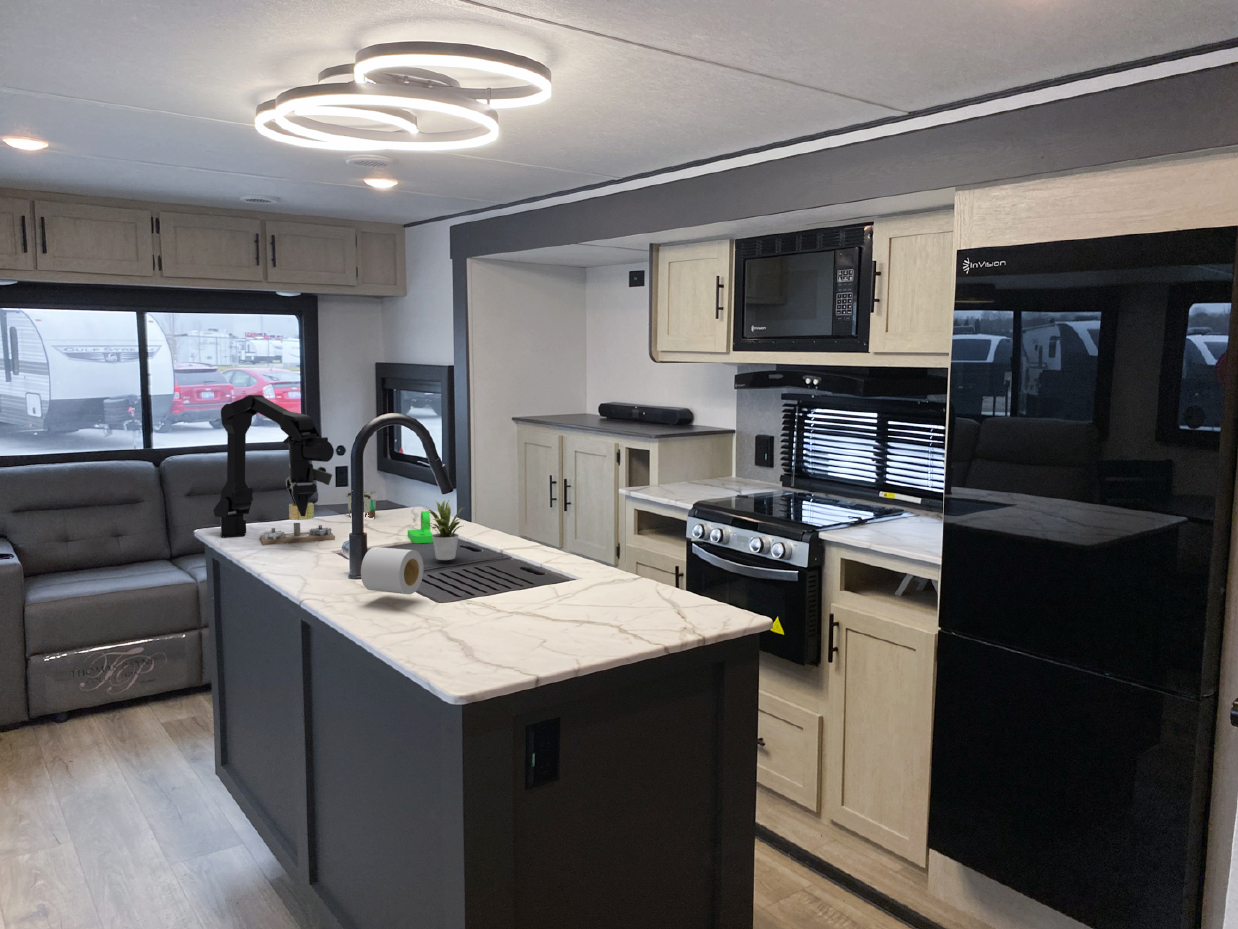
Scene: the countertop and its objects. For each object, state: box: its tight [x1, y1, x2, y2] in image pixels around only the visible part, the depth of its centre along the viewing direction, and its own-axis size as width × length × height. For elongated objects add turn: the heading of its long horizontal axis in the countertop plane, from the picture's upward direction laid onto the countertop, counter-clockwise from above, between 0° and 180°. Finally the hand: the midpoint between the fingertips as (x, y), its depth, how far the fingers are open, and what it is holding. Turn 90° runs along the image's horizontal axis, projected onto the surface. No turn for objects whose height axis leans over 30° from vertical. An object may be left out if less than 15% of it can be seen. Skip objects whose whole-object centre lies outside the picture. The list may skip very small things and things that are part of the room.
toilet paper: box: [360, 546, 424, 595], centre depth 208 cm, size 10×10×10 cm
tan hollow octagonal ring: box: [288, 502, 315, 521], centre depth 259 cm, size 6×6×4 cm
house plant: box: [417, 498, 465, 561], centre depth 246 cm, size 14×14×16 cm
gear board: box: [259, 522, 336, 546], centre depth 269 cm, size 20×10×5 cm, turn 116°
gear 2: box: [309, 524, 332, 536], centre depth 272 cm, size 6×6×3 cm
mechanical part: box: [407, 510, 434, 544], centre depth 273 cm, size 12×6×8 cm, turn 21°
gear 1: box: [261, 527, 286, 539], centre depth 267 cm, size 6×6×3 cm
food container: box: [345, 489, 379, 518], centre depth 303 cm, size 12×6×10 cm, turn 58°
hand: (301, 514), depth 259 cm, fingers closed on tan hollow octagonal ring, 6 cm apart
